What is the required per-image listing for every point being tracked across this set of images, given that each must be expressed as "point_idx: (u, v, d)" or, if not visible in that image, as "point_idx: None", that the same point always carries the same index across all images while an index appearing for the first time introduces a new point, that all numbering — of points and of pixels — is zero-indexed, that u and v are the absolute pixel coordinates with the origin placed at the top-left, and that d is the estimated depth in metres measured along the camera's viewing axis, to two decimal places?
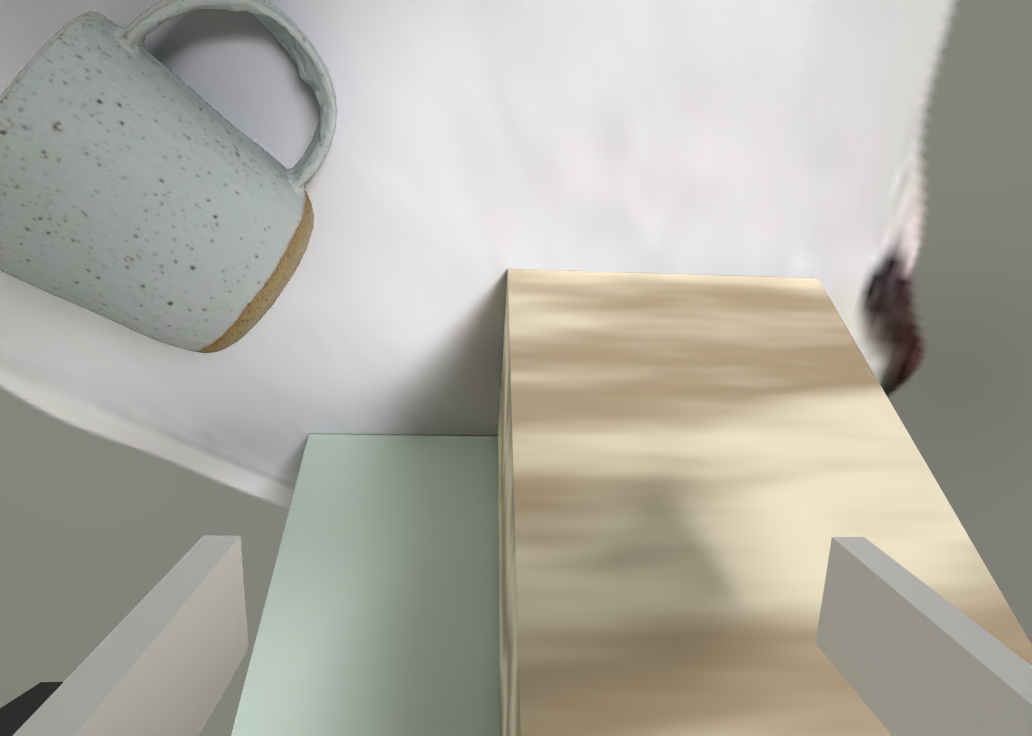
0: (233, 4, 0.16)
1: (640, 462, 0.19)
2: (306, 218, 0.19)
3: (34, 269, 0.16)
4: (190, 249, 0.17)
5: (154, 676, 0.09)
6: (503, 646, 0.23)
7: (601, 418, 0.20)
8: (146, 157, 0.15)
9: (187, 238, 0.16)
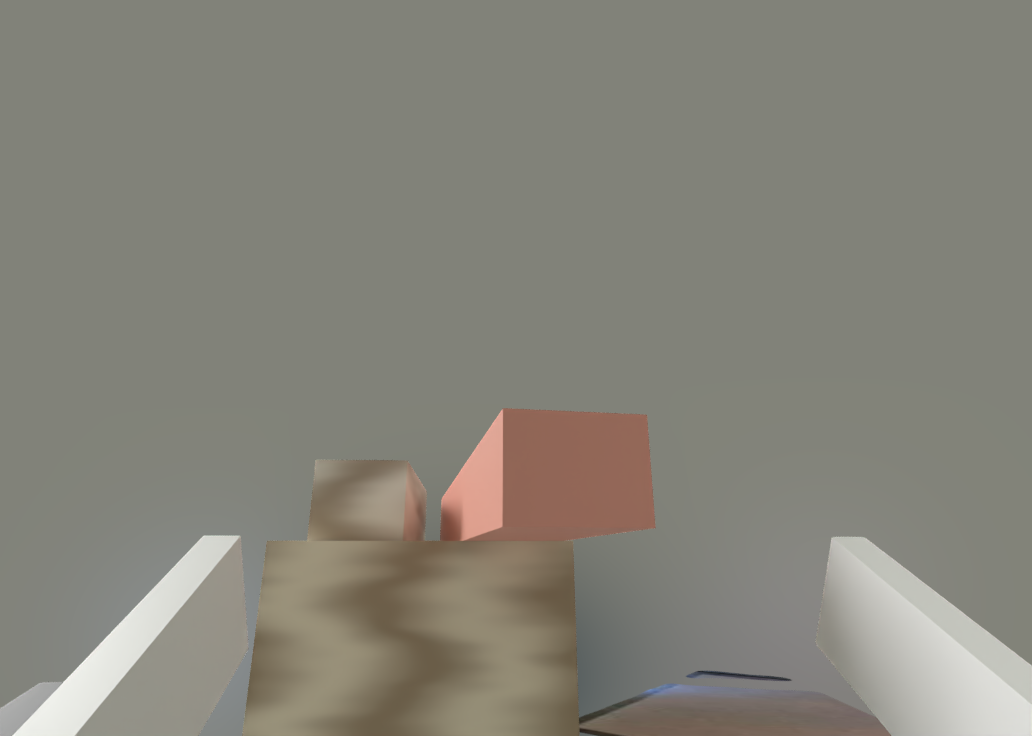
0: None
1: None
2: None
3: None
4: None
5: (154, 676, 0.09)
6: None
7: None
8: None
9: None
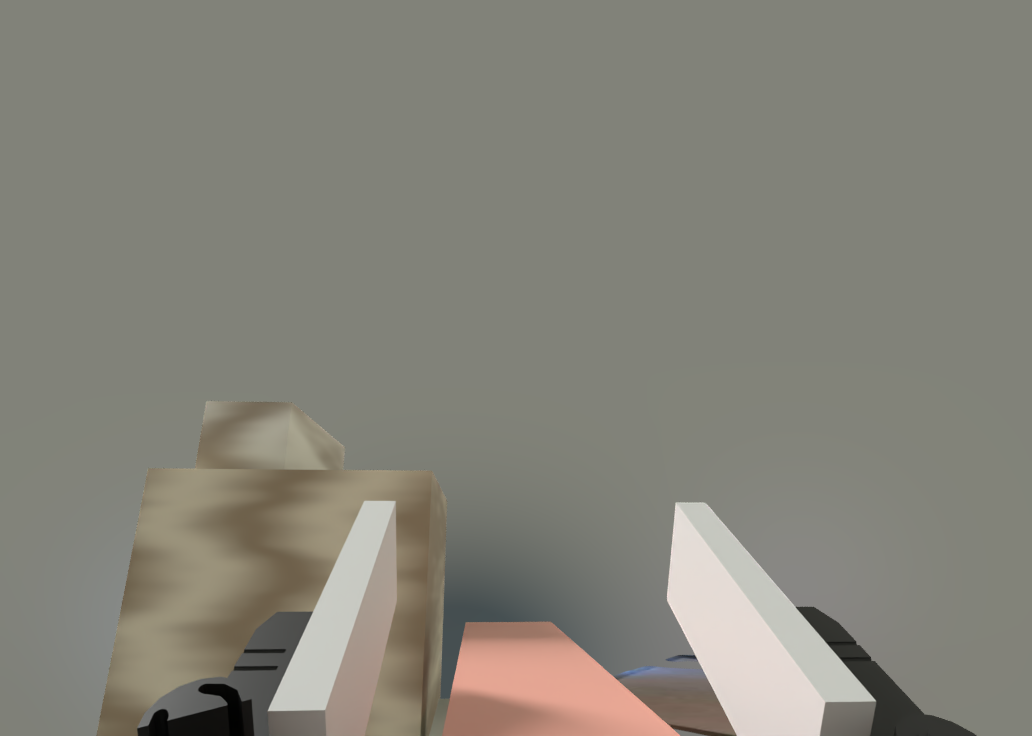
0: None
1: None
2: None
3: None
4: None
5: (369, 607, 0.11)
6: None
7: None
8: None
9: None
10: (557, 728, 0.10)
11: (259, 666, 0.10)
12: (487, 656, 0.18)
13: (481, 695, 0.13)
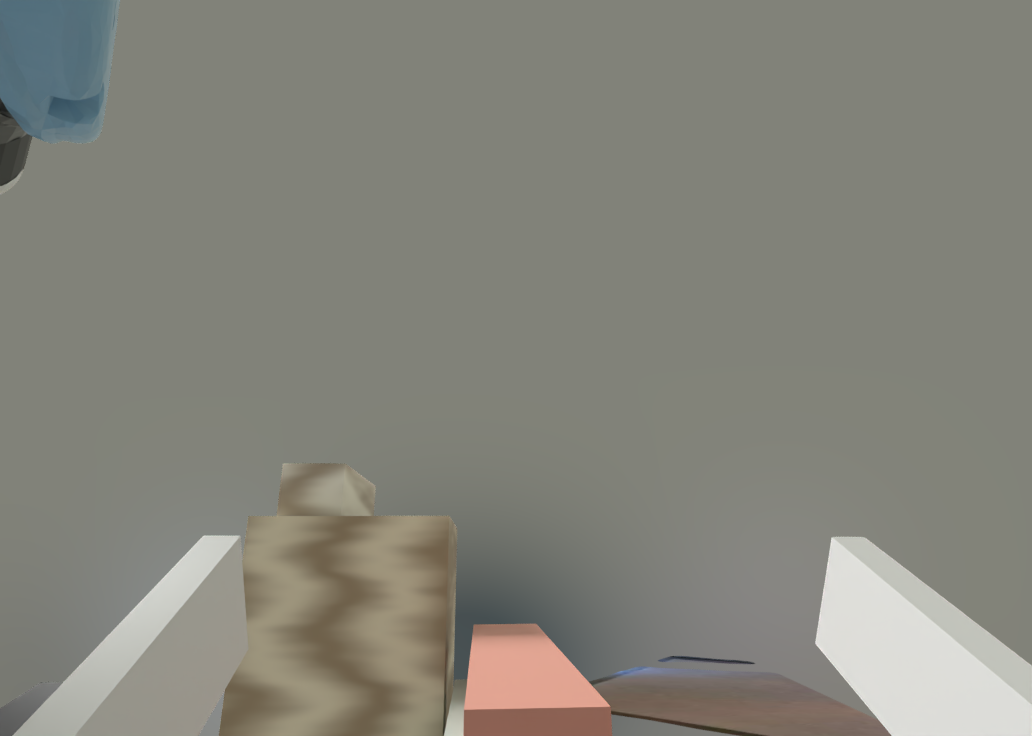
0: None
1: None
2: None
3: None
4: None
5: (154, 676, 0.09)
6: None
7: None
8: None
9: None
10: (525, 675, 0.20)
11: None
12: (489, 645, 0.28)
13: (486, 663, 0.23)
